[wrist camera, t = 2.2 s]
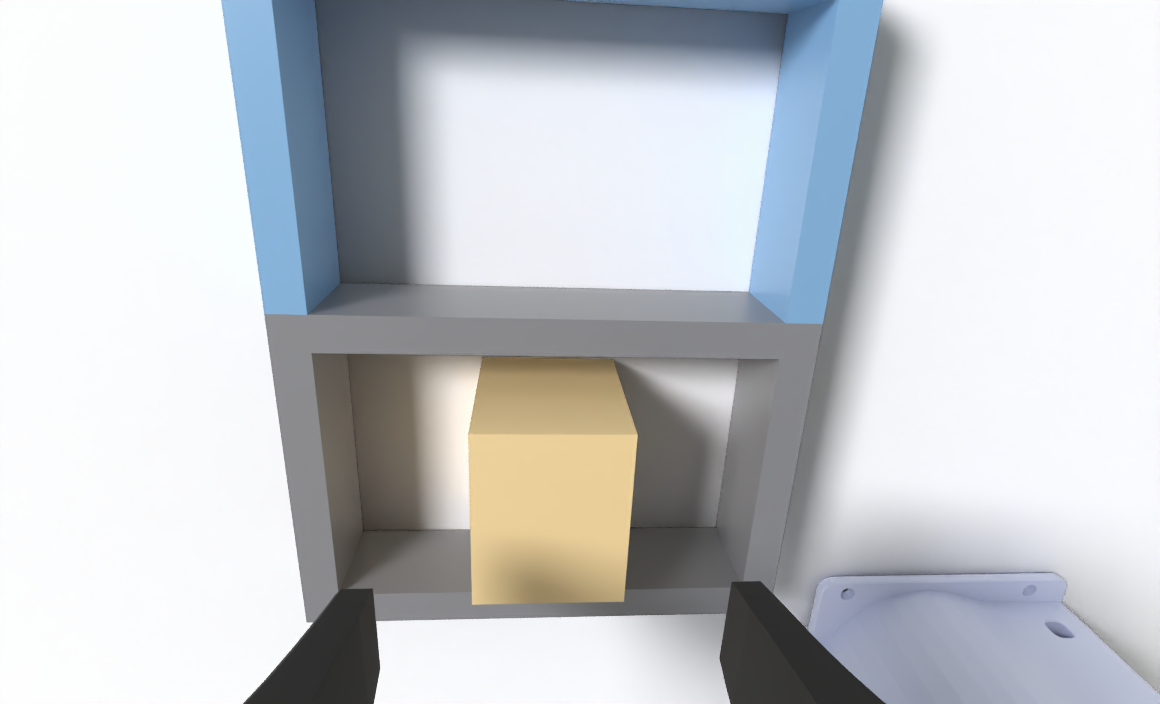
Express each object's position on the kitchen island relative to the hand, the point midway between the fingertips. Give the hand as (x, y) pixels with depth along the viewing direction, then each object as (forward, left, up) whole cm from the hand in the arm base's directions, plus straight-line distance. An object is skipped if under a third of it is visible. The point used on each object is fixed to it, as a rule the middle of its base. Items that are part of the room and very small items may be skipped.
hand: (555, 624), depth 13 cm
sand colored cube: (0, 0, -8) cm, 8 cm away
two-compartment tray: (0, -4, -8) cm, 9 cm away
